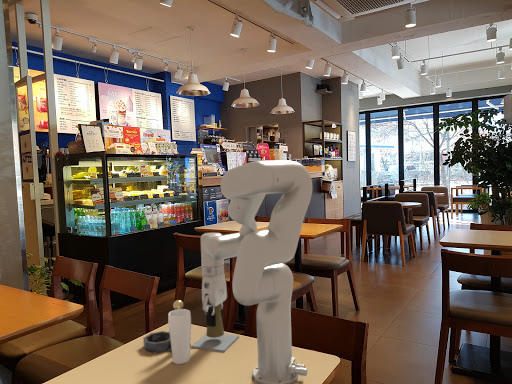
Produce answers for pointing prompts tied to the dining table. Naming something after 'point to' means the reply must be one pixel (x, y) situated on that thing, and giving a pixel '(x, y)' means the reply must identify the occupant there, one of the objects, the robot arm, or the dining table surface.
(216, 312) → the olive rounded tall piece
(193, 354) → the dining table surface
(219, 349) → the mat
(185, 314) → the drinking glass
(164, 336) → the ring stand
